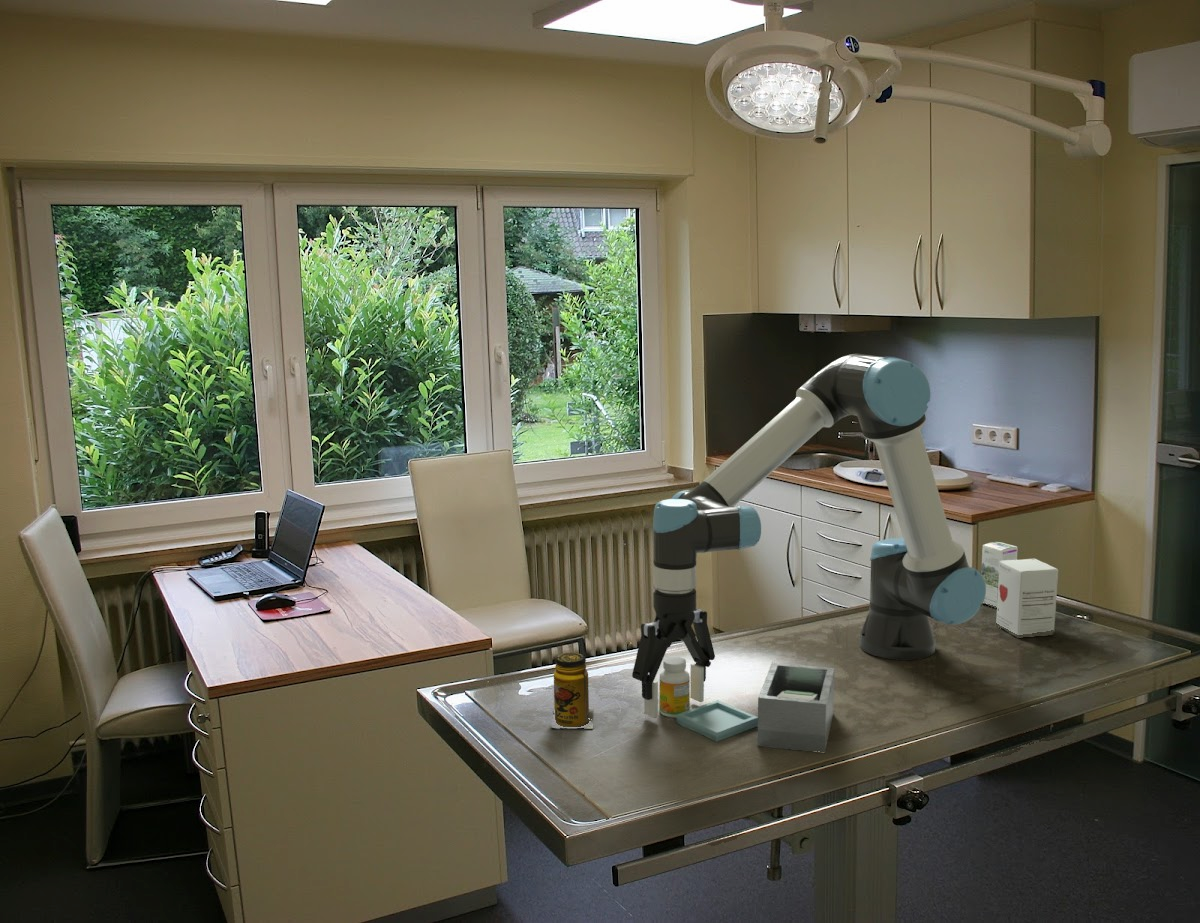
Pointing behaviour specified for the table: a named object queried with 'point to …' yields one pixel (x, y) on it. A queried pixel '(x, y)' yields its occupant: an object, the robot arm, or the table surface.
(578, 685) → the condiment
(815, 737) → the guard box
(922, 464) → the robot arm
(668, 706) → the supplement bottle
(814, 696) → the block
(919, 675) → the table surface
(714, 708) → the tray
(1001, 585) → the supplement box
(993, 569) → the syrup box
